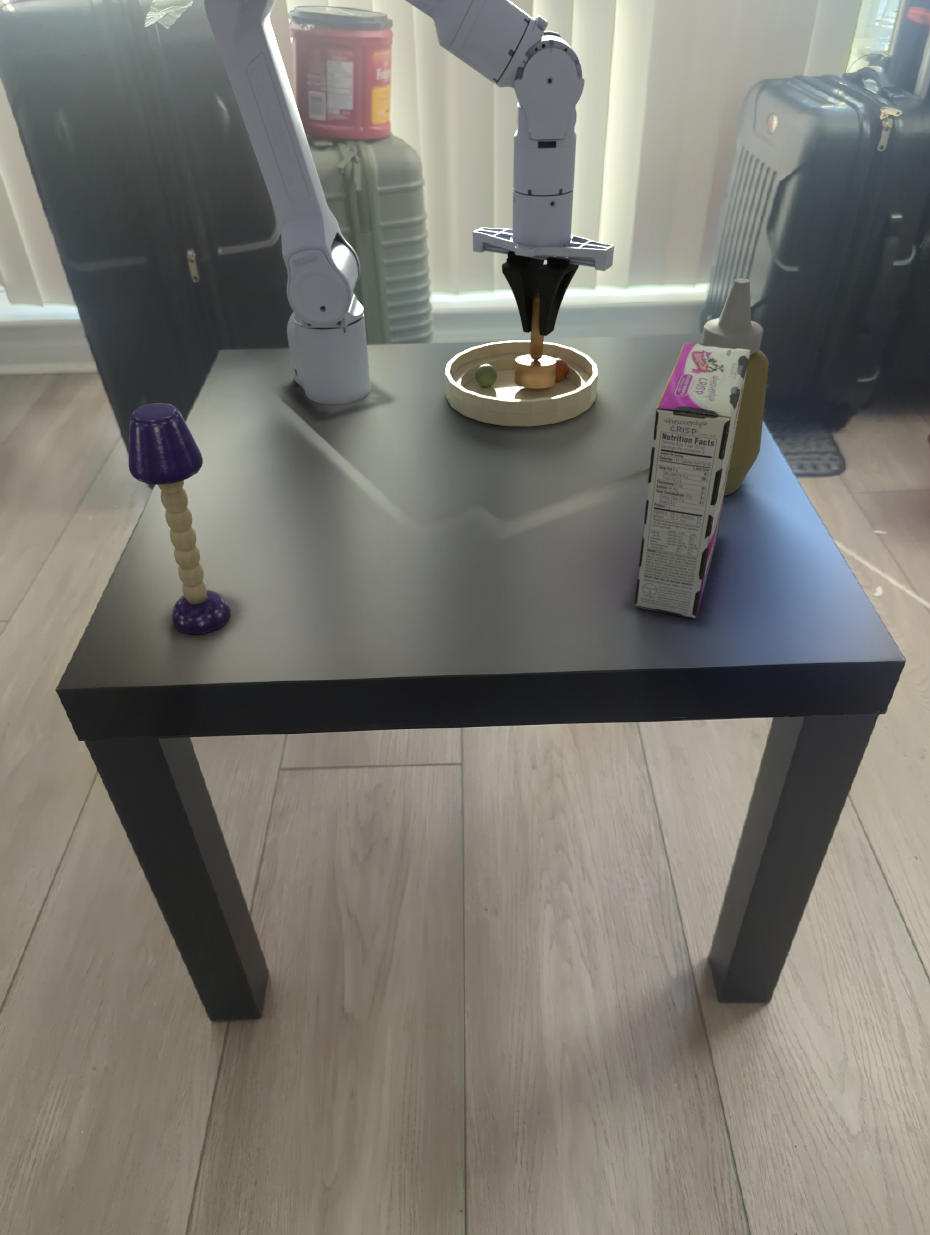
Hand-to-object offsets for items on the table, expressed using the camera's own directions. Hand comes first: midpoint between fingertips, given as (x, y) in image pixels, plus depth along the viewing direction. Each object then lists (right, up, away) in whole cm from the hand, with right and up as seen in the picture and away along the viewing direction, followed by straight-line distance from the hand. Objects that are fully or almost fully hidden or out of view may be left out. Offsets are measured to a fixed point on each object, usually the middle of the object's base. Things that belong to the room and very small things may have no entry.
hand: (538, 331), depth 89 cm
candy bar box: (+9, -27, -22) cm, 36 cm away
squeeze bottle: (+14, -18, -11) cm, 26 cm away
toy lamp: (-27, -30, -25) cm, 48 cm away
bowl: (-2, -6, +3) cm, 7 cm away
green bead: (-5, -5, +4) cm, 8 cm away
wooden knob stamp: (0, -5, +3) cm, 5 cm away
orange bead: (+2, -4, +4) cm, 6 cm away
